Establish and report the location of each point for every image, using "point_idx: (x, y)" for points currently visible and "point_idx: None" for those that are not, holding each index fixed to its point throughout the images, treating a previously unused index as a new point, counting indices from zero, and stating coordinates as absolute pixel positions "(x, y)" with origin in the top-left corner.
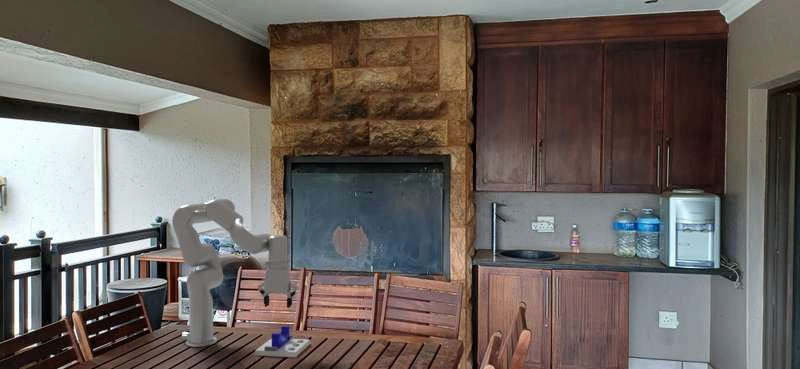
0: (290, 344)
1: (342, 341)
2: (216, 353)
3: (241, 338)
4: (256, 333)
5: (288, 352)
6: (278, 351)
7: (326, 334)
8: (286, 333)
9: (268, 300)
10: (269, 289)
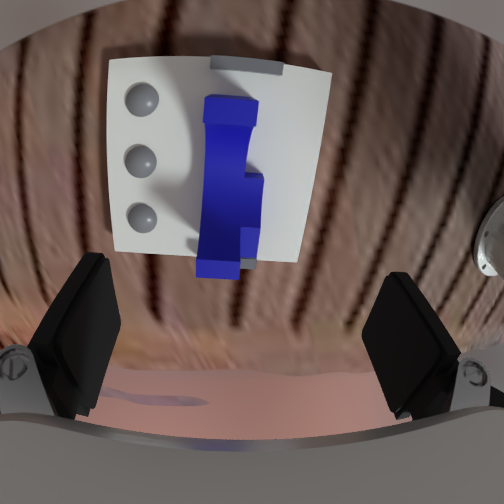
0: (173, 171)
1: (34, 278)
2: (468, 119)
3: None
4: None
5: (146, 57)
6: (200, 56)
7: (118, 341)
8: (205, 232)
9: (385, 362)
10: (477, 486)
